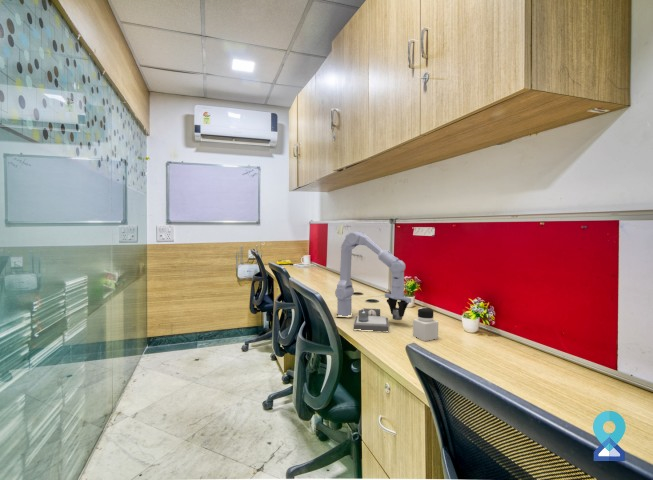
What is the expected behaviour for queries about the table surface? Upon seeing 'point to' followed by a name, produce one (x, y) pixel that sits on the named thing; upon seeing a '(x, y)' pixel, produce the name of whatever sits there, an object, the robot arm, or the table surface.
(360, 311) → the weight
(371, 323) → the scale
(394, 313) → the cylinder
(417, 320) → the medicine bottle
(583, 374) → the table surface
